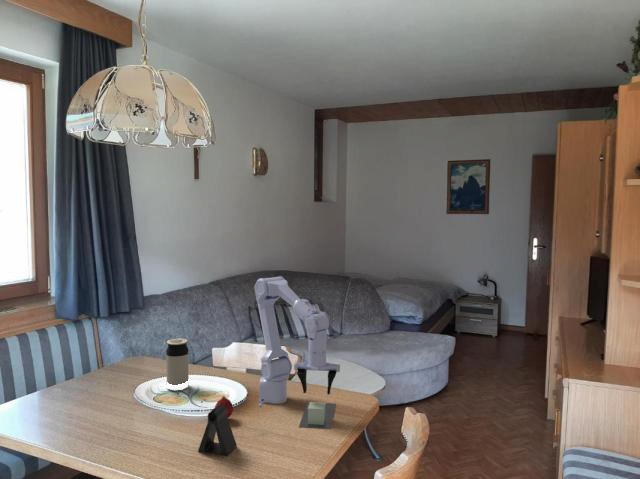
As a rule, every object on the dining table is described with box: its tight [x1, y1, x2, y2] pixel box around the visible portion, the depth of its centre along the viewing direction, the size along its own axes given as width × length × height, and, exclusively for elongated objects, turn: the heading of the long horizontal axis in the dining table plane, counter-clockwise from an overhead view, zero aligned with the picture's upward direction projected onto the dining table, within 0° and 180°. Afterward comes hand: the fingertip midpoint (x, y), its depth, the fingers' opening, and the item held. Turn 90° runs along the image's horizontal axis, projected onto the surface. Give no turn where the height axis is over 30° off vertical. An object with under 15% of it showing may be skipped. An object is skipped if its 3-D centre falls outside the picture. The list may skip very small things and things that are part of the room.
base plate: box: [298, 401, 337, 430], centre depth 160 cm, size 10×20×4 cm, turn 174°
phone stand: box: [197, 404, 237, 457], centre depth 139 cm, size 9×6×12 cm, turn 75°
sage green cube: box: [308, 401, 327, 425], centre depth 155 cm, size 5×5×5 cm
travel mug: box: [165, 338, 189, 385], centre depth 187 cm, size 8×8×18 cm
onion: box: [214, 395, 234, 418], centre depth 158 cm, size 6×6×8 cm
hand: (316, 392), depth 158 cm, fingers open, 7 cm apart
